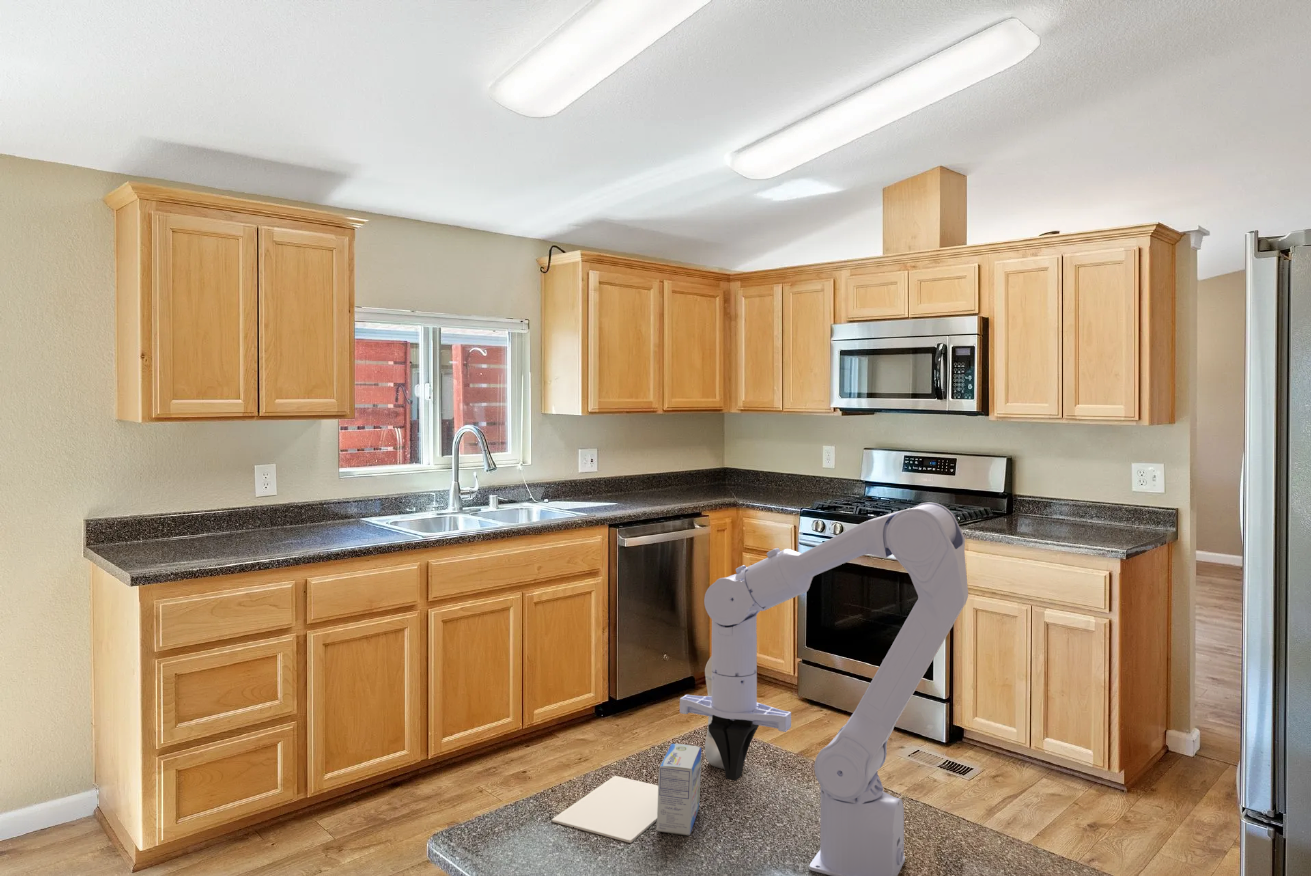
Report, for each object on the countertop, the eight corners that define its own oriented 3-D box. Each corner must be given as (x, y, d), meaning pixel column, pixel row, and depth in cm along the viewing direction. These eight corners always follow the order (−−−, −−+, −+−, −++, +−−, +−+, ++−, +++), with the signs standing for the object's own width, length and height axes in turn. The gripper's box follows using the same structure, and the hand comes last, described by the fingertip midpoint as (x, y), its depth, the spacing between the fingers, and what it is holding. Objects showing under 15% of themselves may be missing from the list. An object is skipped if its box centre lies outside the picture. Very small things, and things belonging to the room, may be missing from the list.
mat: (687, 794, 120) (687, 792, 120) (630, 842, 106) (630, 840, 106) (614, 777, 125) (614, 775, 125) (551, 821, 111) (551, 819, 111)
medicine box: (690, 837, 107) (693, 769, 107) (655, 832, 108) (658, 765, 108) (699, 808, 115) (702, 745, 114) (667, 804, 116) (670, 741, 115)
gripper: (799, 670, 107) (799, 776, 108) (696, 655, 114) (696, 755, 114) (780, 685, 101) (779, 798, 101) (672, 668, 108) (672, 774, 108)
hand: (733, 777), depth 107 cm, fingers closed
